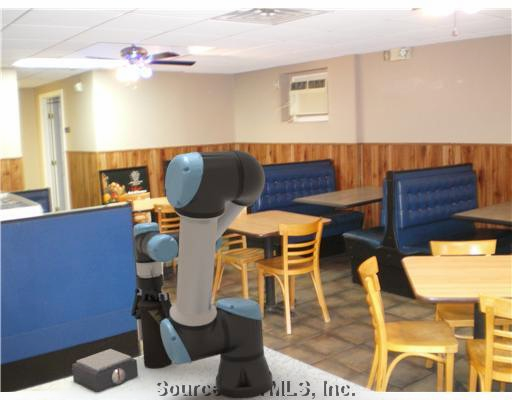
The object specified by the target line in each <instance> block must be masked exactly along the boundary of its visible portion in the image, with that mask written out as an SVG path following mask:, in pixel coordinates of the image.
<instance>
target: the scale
mask: <svg viewBox="0 0 512 400" xmlns="http://www.w3.org/2000/svg"><path fill="white" fill-rule="evenodd" d="M71 367H72V368H71V370H72V378H73V379H72V380H73V382H74V383H76V384H77V385H80V386H82V387H84V388H86V389H89V390H90V391H91V392H94V393H96V392H99V393H101V392H103V391H106V390H108V389H111V388H114V387H116V386H119V385H121V384H123V383H126V382H128V381H130V380H133V379H135V378H138V377H139V371H138V360H137V358H136V359H135V358H133V357H132V356H130V355H128V354H126V353H123V352H120V351H117V350H114V349H112V348H109V349H106V350H103V351H100V352H98V353H94V354H92V355H89V356H86V357H83V358H80V359H76V362H75V363H72V364H71Z"/></svg>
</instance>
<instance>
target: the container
mask: <svg viewBox="0 0 512 400" xmlns="http://www.w3.org/2000/svg"><path fill="white" fill-rule="evenodd" d="M137 306H138V308H139V309H140V315H141V327H142V340H141V341H142V354H143V364H144V366H145V367H146V368H148V369H149V368H150V369H161V368H165V367H167V366H169V365H171V364H172V363H173V362H172V361H171V359H170V358H169V356H168V354H167V352H166V350H165V347H164V344H163V341H162V337H161V331H160V324H161V322H162V319H161V317H160V315H159V314H158V308H163V307H162V304H161V301H158V302H154V303H153V302H150V301H149V300H147V299H146V300H141V301H140V302H139V303H138V304H137ZM164 366H165V367H164Z"/></svg>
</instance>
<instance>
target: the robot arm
mask: <svg viewBox="0 0 512 400" xmlns="http://www.w3.org/2000/svg"><path fill="white" fill-rule="evenodd" d="M164 180H165V181H164V189H165V190H166V191H165V196H166V199H167V202H168V203H169V205H170V206H171V207H173V210H174V213H175V214H177V215H178V216H179V217H180V219H179V230H176V231H175V230H174V231H169V232H161V230H160V227H159V224H158V223H157V222H151V221H150V222H142V223H137V224H134V226H133V236H132V237H133V241H134V242H133V243H134V252H135V265H136V267H135V268H136V275H137V287H136V288H135V289H134V291H135V292H134V300H133V304H132V309H131V316H132V317H134V319H135V320H136V328H137V337H138V341H139V342H140V341H142V327H141V315H140V309H139V308H138V306H137V304H138V303H139V302H140V301H141V300H146V299H147V300H149V301H150V302H153V303H154V302H158V301H161V304H162V307H163V308H158V314H159V315H160V317H161V319H162V322H161V324H160V331H161V337H162V341H163V344H164V347H165V350H166V352H167V354H168V356H169V358H170V359H171V361H172V363H173V364H175V365H176V366H177V365H178V366H180V365H186V364H192V363H194V362H197V361H200V360H203V359H208V358H213V357H215V356H220V357H219V358H220V360H219V364H218V369H217V374H216V377H215V389H216V391H217V392H218V393H219V394H221V395H223V396H226V397H229V398H250V397H255V396H256V397H257V396H259V395H261V394H264V393H266V392H267V391H269V390H270V389H271V388H272V387H273V384H274V383H273V374H272V371H271V369H270V366H269V364H268V361H267V359H266V356H265V349H264V333H263V320H264V319H263V316H262V308H261V305H260V304H259V303H258V302H257V301H255V300H253V299H249V298H242V297H225V298H220V299H218V300H217V301H216V303H215V306H214V304H213V303H212V300H213V284H214V273H215V258H216V252H217V251H219V250H220V249H221V248H222V244H223V234H224V233H226V230H228V228H230V226H231V225H232V224H233V222H234V221H235V219H236V218H238V216H239V215H240V213H241V212H242V211H243V210H244V209H245V208H246V207H249V206H251V205H253V204H254V203H256V201H257V200H258V199H259V198H260V196H261V194H262V193H263V191H264V189H265V188H264V187H265V184H266V175H265V171H264V168H263V166H262V164H261V163H260V161H259V160H258V159H257V158H256V157H255V156H254V155H253V154H251V153H249V152H247V151H244V150H240V149H228V150H216V151H212V150H211V151H199V152H197V151H192V152H189V153H181V154H177V155H176V156H174V157H173V158H172V159H171V161H170V162H169V164H168V167H167V170H166V173H165V179H164ZM174 259H177V277H176V278H177V280H176V281H177V282H176V298H175V299H176V300H175V301H176V302H175V303H174V304H173V305H172V302H171V300H170V299H171V298H170V293H169V291H167V292H164V293H163V292H162V288H163V287H164V286H165V281H164V280H165V279H164V274H163V264H162V263H169V262H171V261H173V260H174Z"/></svg>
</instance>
